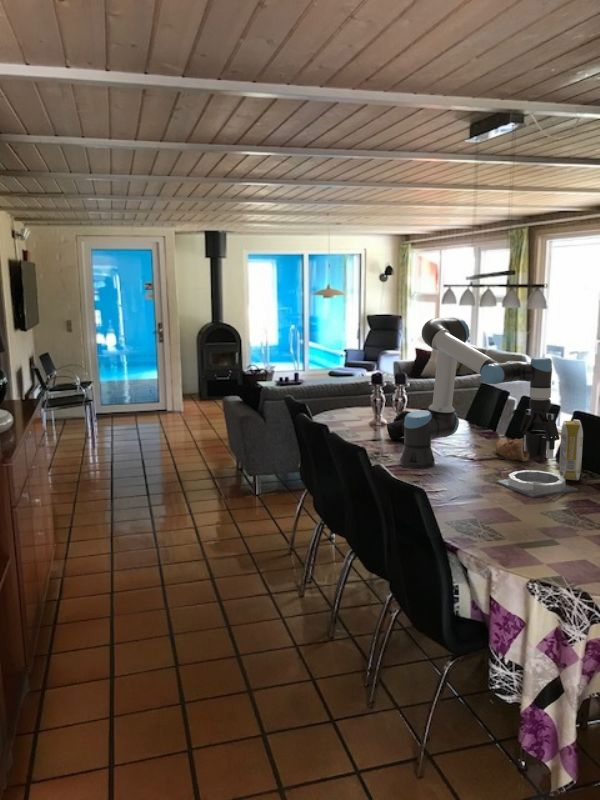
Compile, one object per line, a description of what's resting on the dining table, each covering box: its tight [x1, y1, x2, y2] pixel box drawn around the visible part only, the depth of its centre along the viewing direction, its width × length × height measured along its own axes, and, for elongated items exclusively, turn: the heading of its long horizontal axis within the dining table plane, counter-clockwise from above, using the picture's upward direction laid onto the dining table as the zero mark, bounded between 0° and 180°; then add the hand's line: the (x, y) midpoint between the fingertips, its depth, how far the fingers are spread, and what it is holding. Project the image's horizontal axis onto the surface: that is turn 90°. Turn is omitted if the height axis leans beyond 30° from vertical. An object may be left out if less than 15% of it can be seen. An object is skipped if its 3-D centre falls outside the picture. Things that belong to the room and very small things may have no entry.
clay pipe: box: [494, 437, 530, 462], centre depth 288 cm, size 19×11×15 cm
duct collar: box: [496, 469, 579, 499], centre depth 245 cm, size 21×21×4 cm
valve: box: [386, 410, 411, 441], centre depth 322 cm, size 22×15×30 cm
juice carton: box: [559, 419, 584, 481], centre depth 255 cm, size 9×8×24 cm
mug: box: [526, 429, 548, 459], centre depth 242 cm, size 8×12×10 cm
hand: (538, 454), depth 243 cm, fingers closed on mug, 12 cm apart
